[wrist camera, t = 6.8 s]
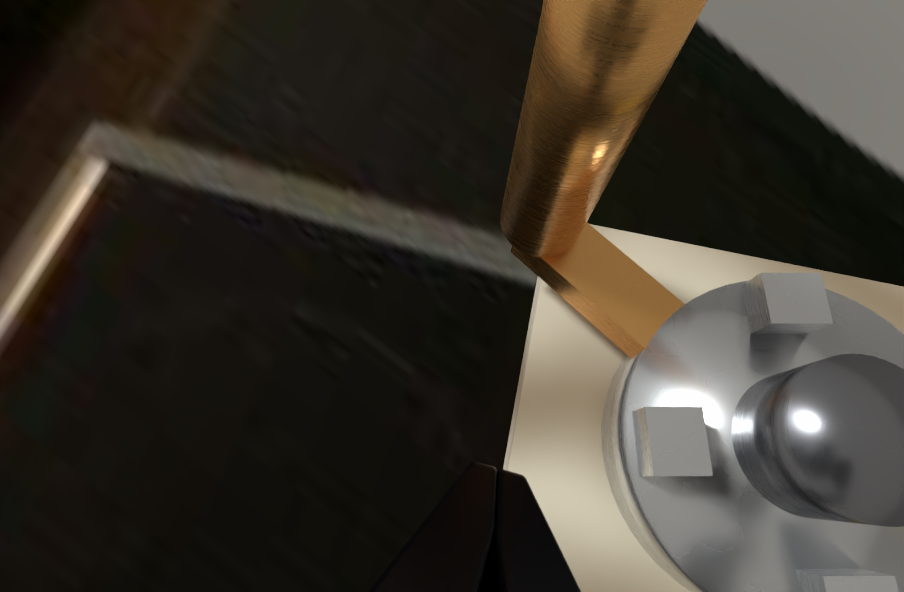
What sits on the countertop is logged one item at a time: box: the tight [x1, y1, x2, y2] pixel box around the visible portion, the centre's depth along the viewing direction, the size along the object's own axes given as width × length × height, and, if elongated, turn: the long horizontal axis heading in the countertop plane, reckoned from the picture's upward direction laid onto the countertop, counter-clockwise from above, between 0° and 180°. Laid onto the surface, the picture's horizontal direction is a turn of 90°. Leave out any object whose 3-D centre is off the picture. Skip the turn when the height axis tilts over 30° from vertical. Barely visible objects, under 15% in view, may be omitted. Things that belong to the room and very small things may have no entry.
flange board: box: [503, 224, 904, 592], centre depth 17 cm, size 14×13×2 cm
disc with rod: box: [500, 0, 904, 592], centre depth 11 cm, size 15×9×12 cm, turn 45°
